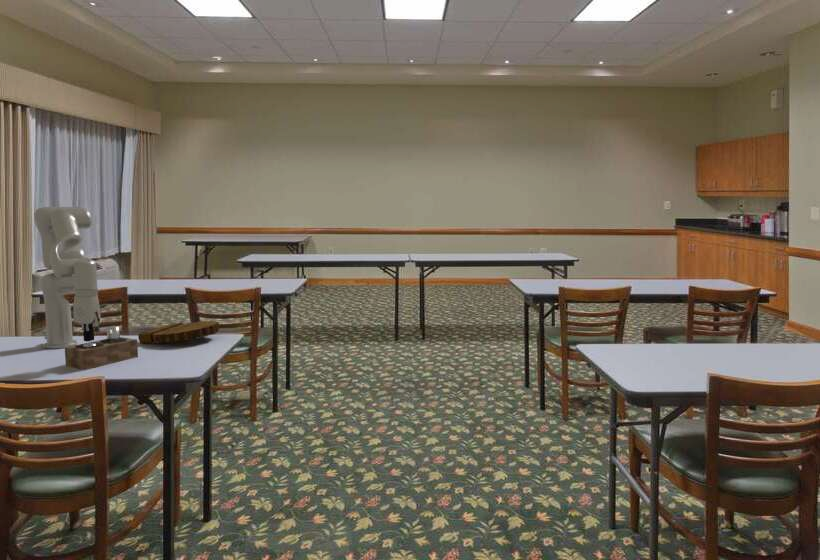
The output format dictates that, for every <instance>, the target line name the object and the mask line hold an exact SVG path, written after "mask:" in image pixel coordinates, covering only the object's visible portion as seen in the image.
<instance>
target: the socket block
mask: <svg viewBox="0 0 820 560" xmlns="http://www.w3.org/2000/svg"><path fill="white" fill-rule="evenodd" d="M87 343H96V345H93V346H89V347H86V346H83V344H87ZM138 348H139V347H138V339H137V338H136V339H135V338H128V337H124V336H123V337H122V336H120V340H117V341H107V338H105V339H104V338H103V339H100V340H99V339H98V340H93V341H88V342H85V343H81V344H76V345H74V346H70V347H65V348H64V357H65V367H71V368H74V369H75V368H76V369H81V370H85V371H87V370H90V369H96V368H100V367H103V366H107V365H111V364H114V363H118V362H123V361H127V360H130V359H135V358H138V357H139V351H138ZM134 357H135V358H134Z"/></svg>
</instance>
